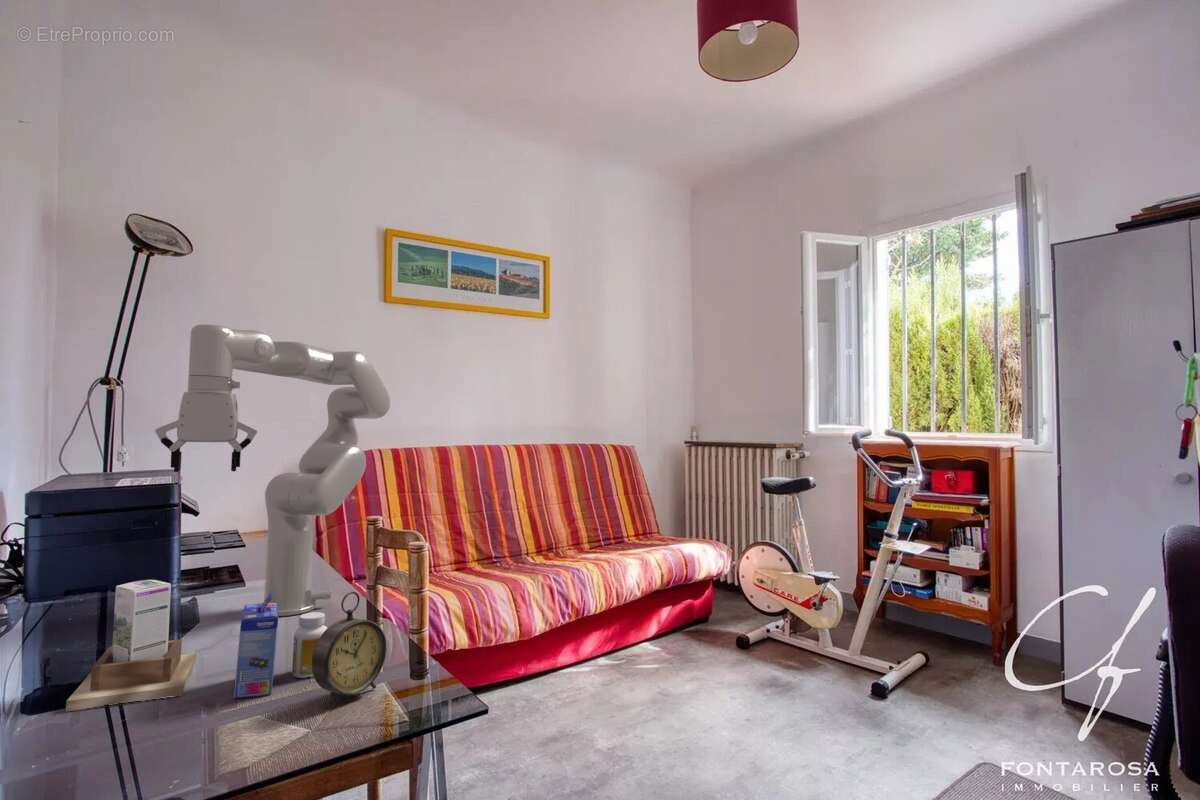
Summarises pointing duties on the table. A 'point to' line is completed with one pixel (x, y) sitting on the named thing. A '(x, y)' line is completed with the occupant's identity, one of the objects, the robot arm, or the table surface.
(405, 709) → the table surface
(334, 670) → the alarm clock
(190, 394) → the robot arm
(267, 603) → the ink cartridge box
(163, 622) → the syrup box
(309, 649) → the supplement bottle
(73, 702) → the desk stand
